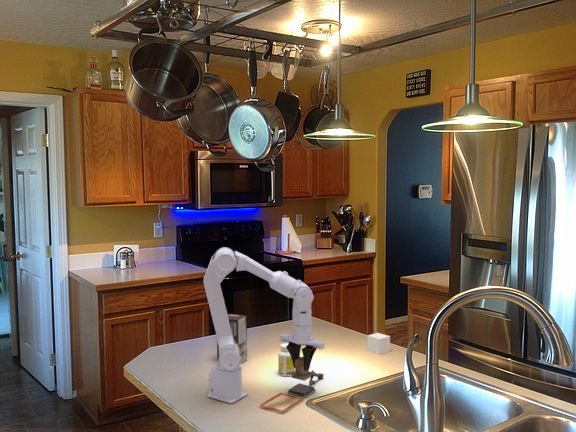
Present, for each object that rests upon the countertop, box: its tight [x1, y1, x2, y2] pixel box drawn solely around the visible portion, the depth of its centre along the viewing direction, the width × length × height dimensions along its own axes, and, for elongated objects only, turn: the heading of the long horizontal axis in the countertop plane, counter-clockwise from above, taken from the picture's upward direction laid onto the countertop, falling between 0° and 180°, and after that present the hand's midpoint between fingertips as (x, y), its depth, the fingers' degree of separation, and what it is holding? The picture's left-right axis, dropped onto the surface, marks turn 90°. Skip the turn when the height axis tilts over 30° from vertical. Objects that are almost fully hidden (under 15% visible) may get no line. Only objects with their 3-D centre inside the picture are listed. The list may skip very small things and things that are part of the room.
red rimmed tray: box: [259, 392, 304, 415], centre depth 156 cm, size 8×11×1 cm
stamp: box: [291, 356, 312, 381], centre depth 164 cm, size 4×4×6 cm
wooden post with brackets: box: [308, 370, 325, 386], centre depth 173 cm, size 2×8×4 cm, turn 151°
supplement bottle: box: [277, 342, 295, 377], centre depth 180 cm, size 5×5×10 cm
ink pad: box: [286, 383, 316, 400], centre depth 164 cm, size 6×7×2 cm
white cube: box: [366, 332, 391, 356], centre depth 204 cm, size 6×6×6 cm
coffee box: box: [216, 313, 248, 365], centre depth 192 cm, size 9×6×16 cm
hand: (301, 368), depth 164 cm, fingers closed on stamp, 3 cm apart
